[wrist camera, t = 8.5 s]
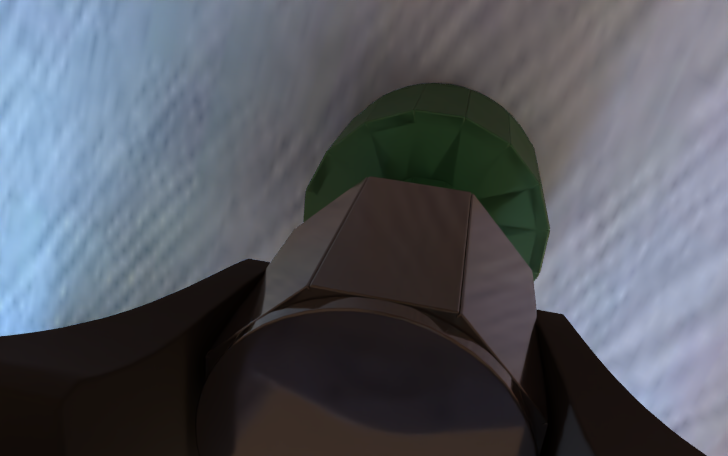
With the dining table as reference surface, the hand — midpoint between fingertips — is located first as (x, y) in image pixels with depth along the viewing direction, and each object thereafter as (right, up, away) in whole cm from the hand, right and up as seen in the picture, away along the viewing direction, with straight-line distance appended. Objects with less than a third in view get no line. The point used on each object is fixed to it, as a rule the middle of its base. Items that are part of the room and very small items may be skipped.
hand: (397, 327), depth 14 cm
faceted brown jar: (0, +1, +1) cm, 1 cm away
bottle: (+2, +3, +8) cm, 9 cm away
